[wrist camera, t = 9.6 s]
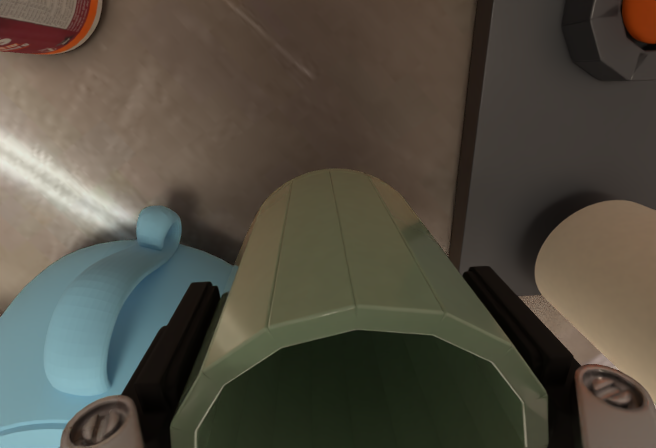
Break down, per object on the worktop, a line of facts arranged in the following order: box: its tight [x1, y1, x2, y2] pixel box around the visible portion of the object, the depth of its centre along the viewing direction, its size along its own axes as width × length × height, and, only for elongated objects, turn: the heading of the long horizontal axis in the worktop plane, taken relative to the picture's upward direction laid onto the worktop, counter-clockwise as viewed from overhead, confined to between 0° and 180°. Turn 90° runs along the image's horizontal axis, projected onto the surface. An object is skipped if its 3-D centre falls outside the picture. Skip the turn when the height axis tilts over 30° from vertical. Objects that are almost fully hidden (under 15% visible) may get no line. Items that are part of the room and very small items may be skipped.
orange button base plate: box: [449, 0, 656, 296], centre depth 18 cm, size 19×13×4 cm
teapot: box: [0, 206, 233, 448], centre depth 17 cm, size 20×20×13 cm
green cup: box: [170, 168, 549, 448], centre depth 11 cm, size 7×7×9 cm
